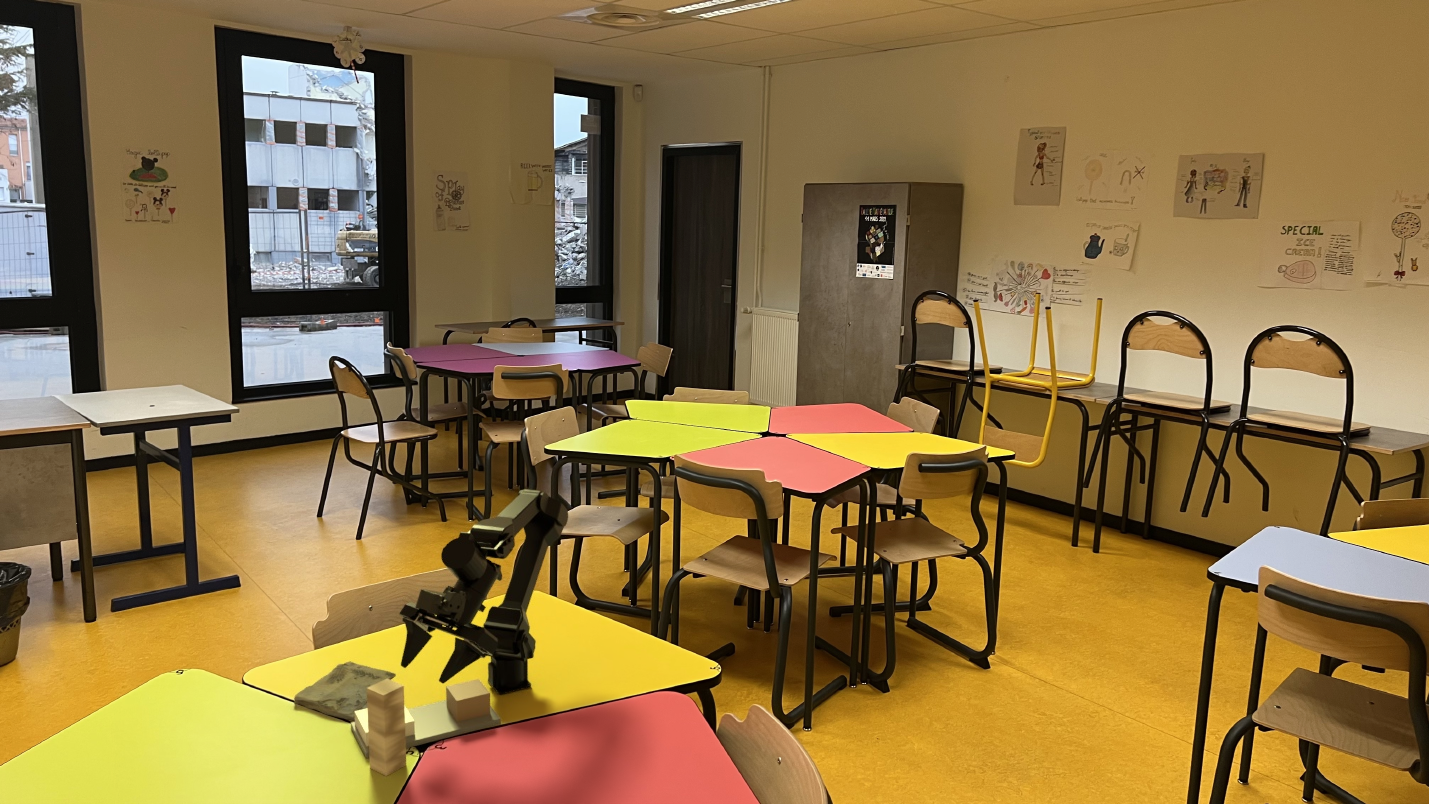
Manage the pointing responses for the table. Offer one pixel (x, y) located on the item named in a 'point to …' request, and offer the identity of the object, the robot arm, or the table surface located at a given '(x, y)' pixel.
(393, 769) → the beech pillar
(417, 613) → the robot arm
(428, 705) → the building board
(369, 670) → the fossil rock
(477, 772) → the table surface
